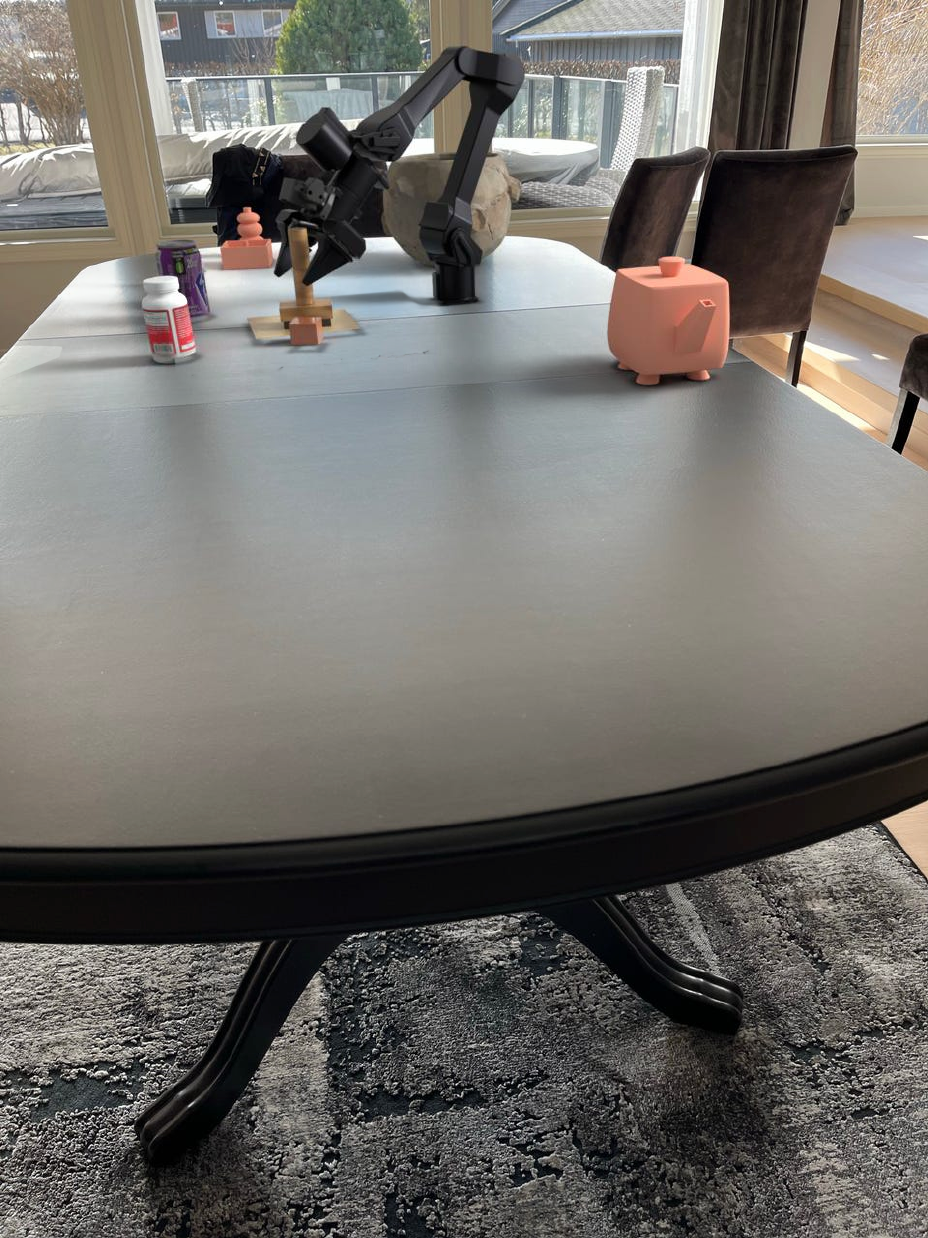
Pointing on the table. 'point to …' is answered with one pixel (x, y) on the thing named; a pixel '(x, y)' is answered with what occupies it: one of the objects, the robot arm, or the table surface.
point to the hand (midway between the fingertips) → (289, 279)
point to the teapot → (669, 320)
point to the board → (275, 328)
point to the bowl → (426, 182)
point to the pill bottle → (167, 319)
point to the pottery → (247, 245)
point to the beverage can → (185, 272)
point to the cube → (306, 331)
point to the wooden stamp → (304, 294)
